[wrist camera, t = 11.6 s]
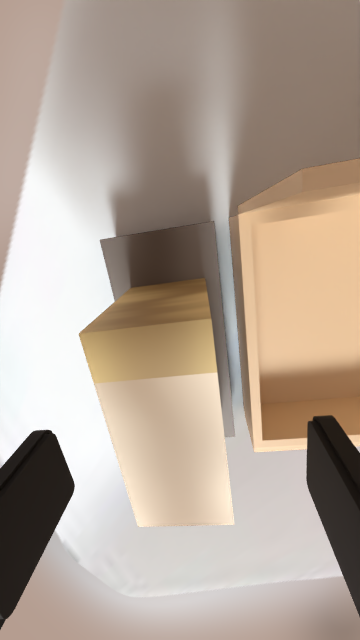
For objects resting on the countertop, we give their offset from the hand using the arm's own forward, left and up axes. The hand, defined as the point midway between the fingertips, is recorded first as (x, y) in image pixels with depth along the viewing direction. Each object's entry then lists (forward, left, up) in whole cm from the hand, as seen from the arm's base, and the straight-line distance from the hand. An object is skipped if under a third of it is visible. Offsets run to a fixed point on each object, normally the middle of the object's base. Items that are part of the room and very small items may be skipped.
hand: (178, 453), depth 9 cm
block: (0, 0, -8) cm, 8 cm away
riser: (+1, 0, -11) cm, 11 cm away
